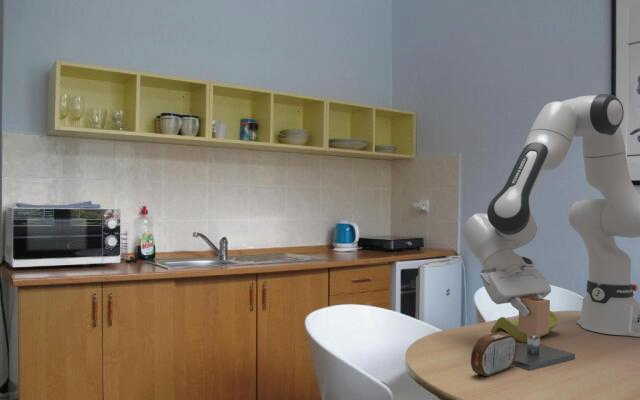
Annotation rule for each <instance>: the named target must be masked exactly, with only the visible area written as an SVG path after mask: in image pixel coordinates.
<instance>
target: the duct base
mask: <svg viewBox="0 0 640 400" xmlns="http://www.w3.org/2000/svg"><path fill="white" fill-rule="evenodd" d="M540 339H541V337H540V336H539V335H532V334H528V336H527V342H523V343H520V344H519V343H518V344H517V345H516V354H515V360H514V362H513V364H512V365H511V366H515V367H518V368H521V369H523V370H527V371H532V370H537V369H540V368H544V367H548V366H552V365H555V364H556V365H557V364H560V363H562V362H568V361H572V360H575V359H576V354H575V353H573V352H570V351H567V350H563V349H559V348H555V347H552V346H548V345H544V344H541V340H540Z"/></svg>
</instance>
